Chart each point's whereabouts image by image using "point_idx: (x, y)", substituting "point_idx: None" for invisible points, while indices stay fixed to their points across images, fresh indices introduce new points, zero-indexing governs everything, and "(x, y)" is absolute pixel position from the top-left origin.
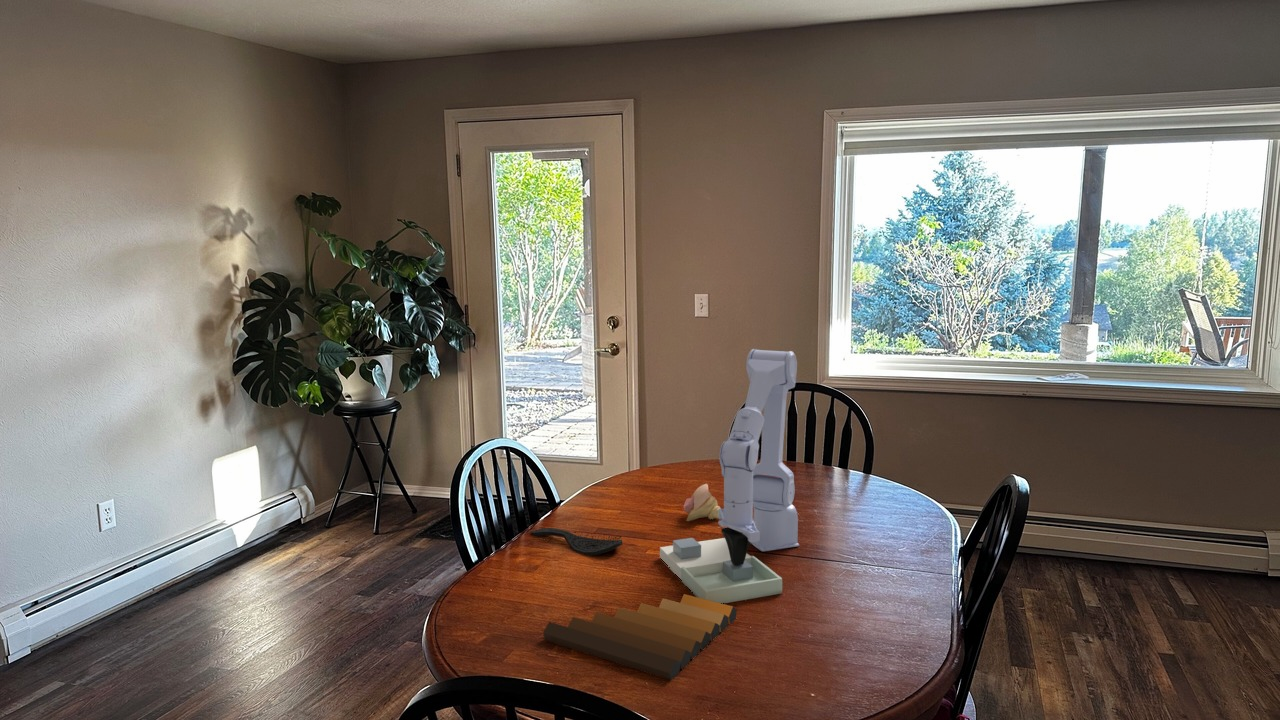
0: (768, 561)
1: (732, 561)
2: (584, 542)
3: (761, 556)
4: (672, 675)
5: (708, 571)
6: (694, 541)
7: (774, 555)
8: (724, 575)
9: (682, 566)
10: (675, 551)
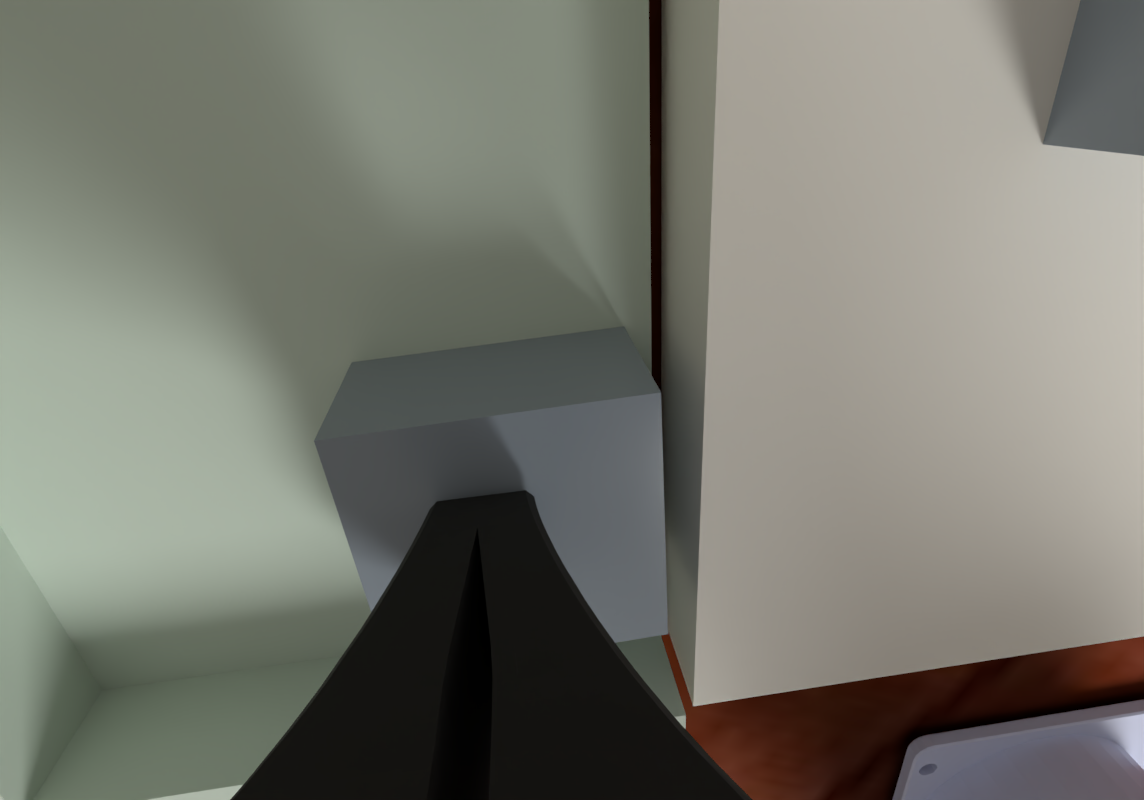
0: (746, 733)
1: (477, 514)
2: None
3: (850, 714)
4: None
5: (680, 142)
6: None
7: (820, 780)
8: (552, 324)
9: None
10: None
